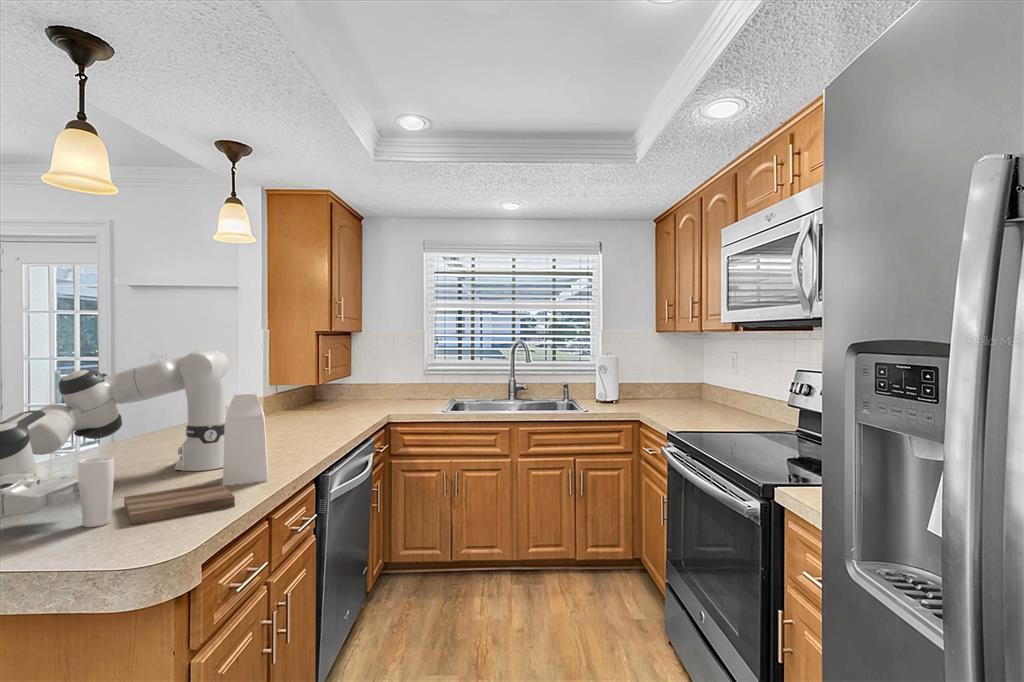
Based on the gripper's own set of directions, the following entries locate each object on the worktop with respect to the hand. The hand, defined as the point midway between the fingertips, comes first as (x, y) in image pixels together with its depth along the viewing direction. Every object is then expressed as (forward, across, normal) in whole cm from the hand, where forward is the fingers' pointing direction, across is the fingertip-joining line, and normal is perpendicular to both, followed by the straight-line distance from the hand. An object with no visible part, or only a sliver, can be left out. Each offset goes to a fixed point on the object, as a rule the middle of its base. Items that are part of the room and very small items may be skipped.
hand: (88, 490), depth 127 cm
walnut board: (+14, -12, -8) cm, 20 cm away
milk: (+22, -37, -8) cm, 44 cm away
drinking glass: (+2, 0, -8) cm, 8 cm away
